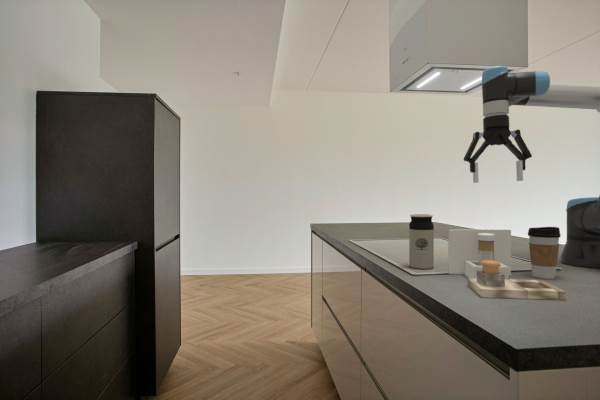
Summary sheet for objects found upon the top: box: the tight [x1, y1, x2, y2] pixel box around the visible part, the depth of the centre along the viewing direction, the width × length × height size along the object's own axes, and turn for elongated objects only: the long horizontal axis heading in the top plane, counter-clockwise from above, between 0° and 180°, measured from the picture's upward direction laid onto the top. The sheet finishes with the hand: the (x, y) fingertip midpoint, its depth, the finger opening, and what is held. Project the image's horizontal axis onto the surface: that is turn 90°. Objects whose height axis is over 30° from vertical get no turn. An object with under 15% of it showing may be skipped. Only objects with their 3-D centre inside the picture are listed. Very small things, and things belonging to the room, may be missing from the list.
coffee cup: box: [527, 226, 562, 280], centre depth 117 cm, size 8×8×15 cm
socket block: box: [467, 270, 567, 301], centre depth 99 cm, size 19×12×5 cm, turn 81°
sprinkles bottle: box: [478, 233, 495, 266], centre depth 114 cm, size 5×5×14 cm
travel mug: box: [408, 213, 435, 270], centre depth 133 cm, size 8×8×18 cm
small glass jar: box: [481, 260, 500, 274], centre depth 100 cm, size 4×4×5 cm
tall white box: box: [447, 228, 512, 279], centre depth 116 cm, size 18×12×14 cm, turn 81°
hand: (497, 181), depth 125 cm, fingers open, 13 cm apart
